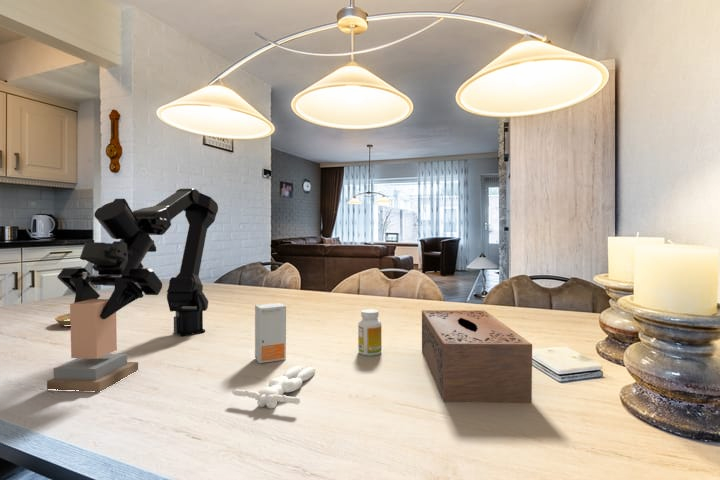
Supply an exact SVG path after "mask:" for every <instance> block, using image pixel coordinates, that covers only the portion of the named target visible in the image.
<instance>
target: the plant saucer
mask: <svg viewBox="0 0 720 480" xmlns="http://www.w3.org/2000/svg"><path fill="white" fill-rule="evenodd" d="M67 319H70V312H69V313H66V314H62V315H58V316H57V317H55V318H54V320H55V321H56V323H59V324H60V325H61V324H63V325H71V323H70V321H64V320H67ZM63 325H62V326H63Z"/></svg>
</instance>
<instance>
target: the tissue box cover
mask: <svg viewBox="0 0 720 480" xmlns="http://www.w3.org/2000/svg"><path fill="white" fill-rule="evenodd" d="M421 354H422V355H423V357H424V359H425V360H424V361H425V362H426V364H427V367H428V369H429V371H430V373H431V376H432V379H433V380H434V383H435V386H436V388H437V390H438V392H439V395H440V397H441V399H442V401H443V403H477V404H478V403H479V404H481V403H485V404H486V403H487V404H488V403H489V404H490V403H491V404H493V403H495V404H498V403H499V404H505V403H506V404H532V402H533V401H532V400H533V344H532V343H531V342H530V341H528V340H527V339H526V338H524V337H523V336H521V335H520V334H518V333H517V332H516V331H514V330H513V329H511V328H510V327H508V326H507V325H506V324H504V323H503V322H501V321H500V320H498V319H497V318H496V317H494V316H493V315H492V314H490V313H489V312H488V311H486V310H483V309H482V310H477V309H476V310H474V309H473V310H472V309H471V310H465V309H464V310H463V309H462V310H458V309H456V310H455V309H452V310H450V309H444V310H442V309H441V310H437V309H436V310H434V309H433V310H432V309H428V310H427V309H423V310H421Z"/></svg>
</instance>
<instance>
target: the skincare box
mask: <svg viewBox="0 0 720 480" xmlns="http://www.w3.org/2000/svg"><path fill="white" fill-rule="evenodd" d="M254 310H255V311H254V358H255V360H256V361H257V363H258V364H266V363H270V362H278V361H279V362H280V361H286V359H287V356H286V355H287V352H286V351H287V347H286V346H287V306H286V305H285V304H283V303H282V302H277V303H266V304H255V306H254Z"/></svg>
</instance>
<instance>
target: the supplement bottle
mask: <svg viewBox="0 0 720 480" xmlns="http://www.w3.org/2000/svg"><path fill="white" fill-rule="evenodd" d="M360 314H361V319H360V320H359V321H358V328H357V329H358V331H357V332H358V333H357V335H358V338H357V339H358V340H357V341H358V344H357V345H358V349H357V350H358V353H359V355H363V356H367V357H368V356H378V355H380V354H381V353H382V347H383V346H382V321H381V320H380V319H379V310H377V309H375V308H374V309H371V308H367V309H362V310H361V313H360Z"/></svg>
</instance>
